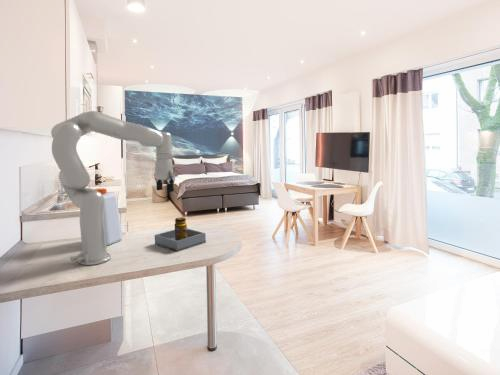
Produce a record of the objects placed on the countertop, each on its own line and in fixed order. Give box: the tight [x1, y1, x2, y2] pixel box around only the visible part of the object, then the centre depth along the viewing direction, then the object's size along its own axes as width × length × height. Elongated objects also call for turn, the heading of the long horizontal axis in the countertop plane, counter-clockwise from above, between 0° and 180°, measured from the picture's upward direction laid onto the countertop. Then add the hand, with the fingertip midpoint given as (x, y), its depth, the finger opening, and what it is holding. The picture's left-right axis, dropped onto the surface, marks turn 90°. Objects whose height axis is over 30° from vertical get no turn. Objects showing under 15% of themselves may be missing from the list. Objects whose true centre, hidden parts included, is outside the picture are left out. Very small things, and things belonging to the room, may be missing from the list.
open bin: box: [154, 228, 207, 253], centre depth 161 cm, size 18×18×5 cm
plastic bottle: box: [94, 187, 123, 247], centre depth 163 cm, size 15×15×28 cm
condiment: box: [174, 216, 188, 241], centre depth 160 cm, size 7×8×12 cm
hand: (164, 190), depth 161 cm, fingers open, 9 cm apart
